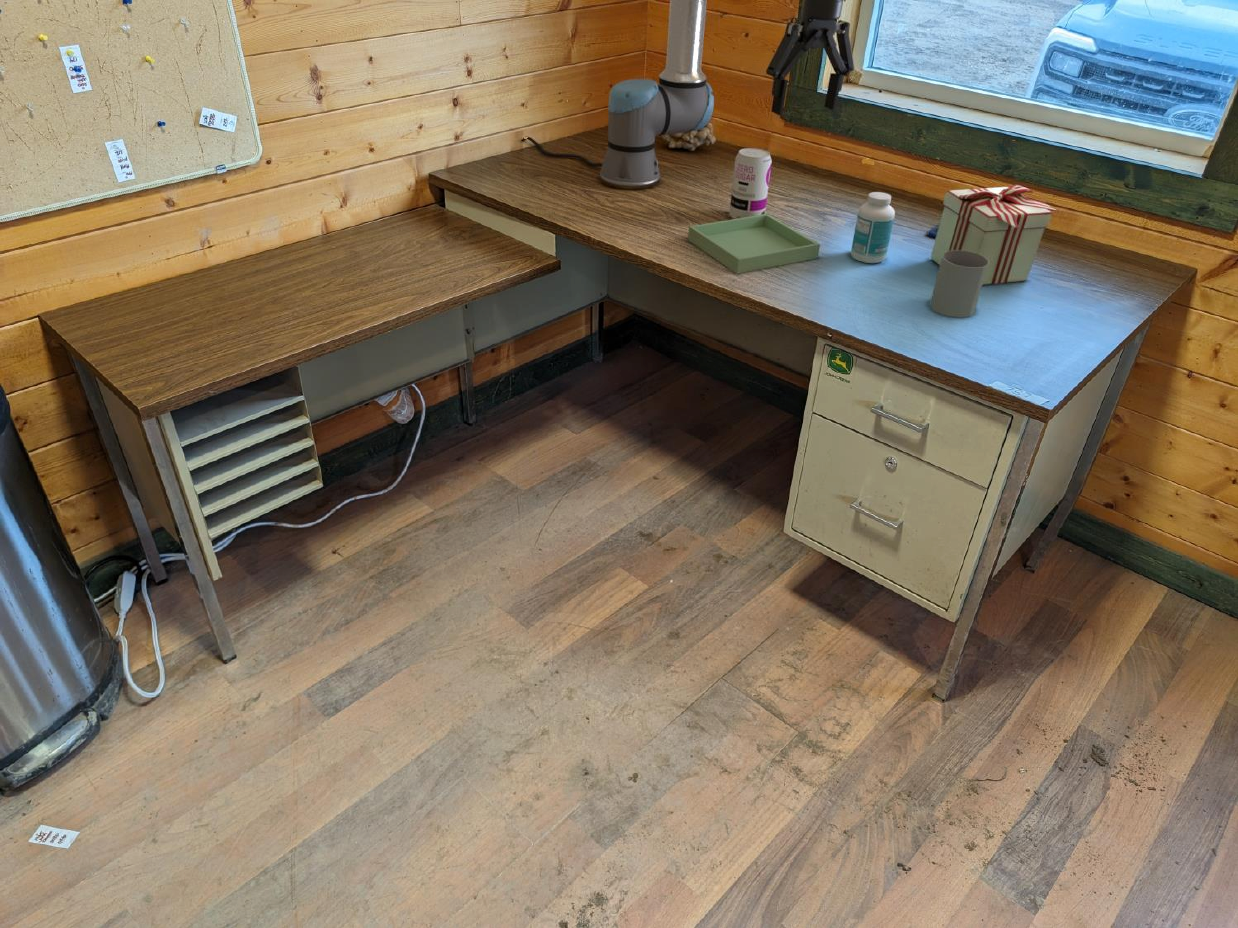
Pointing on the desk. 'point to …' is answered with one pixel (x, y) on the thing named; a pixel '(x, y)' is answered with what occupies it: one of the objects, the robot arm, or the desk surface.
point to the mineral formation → (691, 138)
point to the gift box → (993, 229)
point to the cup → (958, 283)
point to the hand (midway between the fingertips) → (803, 111)
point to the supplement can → (750, 183)
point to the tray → (753, 243)
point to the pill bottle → (873, 229)
